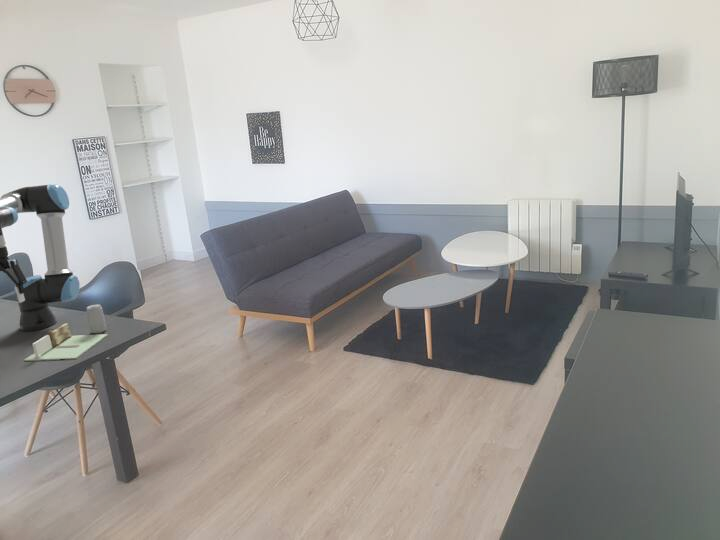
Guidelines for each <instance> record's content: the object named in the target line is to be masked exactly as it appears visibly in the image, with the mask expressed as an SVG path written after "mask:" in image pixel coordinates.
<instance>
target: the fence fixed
mask: <svg viewBox="0 0 720 540" xmlns="http://www.w3.org/2000/svg"><path fill="white" fill-rule="evenodd" d="M47 335H49V336H50V340H51V344H52V348H55V347H56V346H55V345H60V342H62V341H63V340H65V339H66V338H71V337H72V336H73V335H72V334H71V331H70V327H69V323H65V322H64V324H62V325H60V326H59V327H57V328H55V329H54V330H52V329H50V330H49V329H48V330H47Z"/></svg>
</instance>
